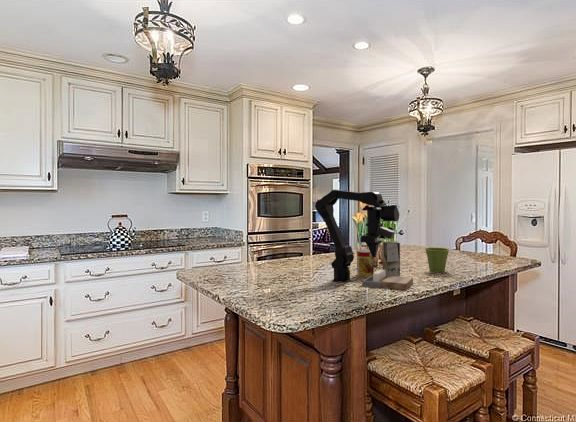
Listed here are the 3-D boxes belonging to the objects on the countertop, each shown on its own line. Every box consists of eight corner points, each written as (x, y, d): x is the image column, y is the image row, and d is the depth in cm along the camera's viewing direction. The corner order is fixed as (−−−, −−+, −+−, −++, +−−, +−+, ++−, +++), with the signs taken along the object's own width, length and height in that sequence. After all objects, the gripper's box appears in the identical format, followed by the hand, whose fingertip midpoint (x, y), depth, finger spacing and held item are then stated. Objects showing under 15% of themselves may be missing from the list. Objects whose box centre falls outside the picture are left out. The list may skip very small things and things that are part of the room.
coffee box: (400, 276, 172) (400, 242, 172) (387, 277, 172) (386, 243, 172) (395, 273, 181) (395, 240, 181) (382, 273, 181) (382, 241, 181)
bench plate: (381, 287, 152) (381, 281, 152) (389, 281, 163) (389, 275, 163) (406, 289, 147) (406, 283, 147) (412, 283, 158) (412, 277, 158)
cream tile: (379, 285, 154) (373, 284, 155) (385, 280, 163) (380, 280, 164) (378, 273, 154) (373, 273, 155) (385, 269, 162) (379, 269, 164)
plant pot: (425, 272, 181) (425, 250, 181) (424, 268, 192) (423, 247, 192) (451, 273, 177) (451, 250, 177) (448, 269, 189) (448, 247, 188)
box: (362, 285, 155) (362, 281, 155) (372, 279, 168) (372, 274, 168) (381, 287, 151) (381, 282, 151) (390, 280, 164) (390, 276, 164)
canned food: (375, 276, 173) (375, 251, 173) (358, 277, 173) (358, 252, 173) (371, 273, 181) (371, 249, 181) (356, 273, 181) (355, 249, 181)
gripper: (386, 222, 144) (387, 261, 144) (398, 220, 160) (398, 255, 160) (359, 222, 149) (360, 259, 150) (373, 219, 166) (373, 254, 166)
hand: (374, 257), depth 156 cm, fingers closed
